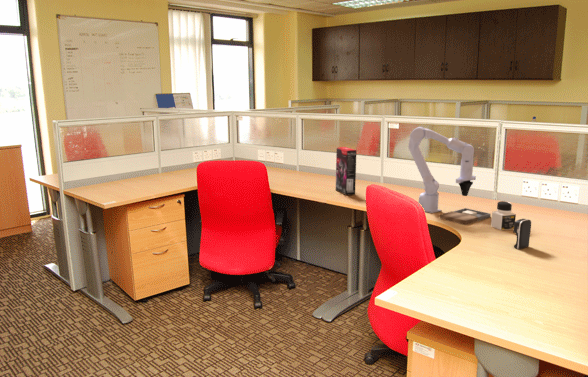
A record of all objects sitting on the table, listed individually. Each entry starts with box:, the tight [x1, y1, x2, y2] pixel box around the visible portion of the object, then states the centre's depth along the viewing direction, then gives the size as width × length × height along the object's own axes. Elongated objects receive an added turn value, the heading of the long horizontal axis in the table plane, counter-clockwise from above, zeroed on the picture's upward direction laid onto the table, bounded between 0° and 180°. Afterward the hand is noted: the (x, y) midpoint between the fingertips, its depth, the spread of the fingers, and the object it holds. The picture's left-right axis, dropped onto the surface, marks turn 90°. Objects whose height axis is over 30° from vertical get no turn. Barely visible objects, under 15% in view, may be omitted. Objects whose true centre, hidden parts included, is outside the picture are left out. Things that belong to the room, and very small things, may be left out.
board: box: [439, 210, 479, 226], centre depth 225 cm, size 14×10×2 cm
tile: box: [462, 210, 477, 217], centre depth 230 cm, size 5×5×2 cm
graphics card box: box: [335, 146, 357, 196], centre depth 284 cm, size 17×7×27 cm, turn 17°
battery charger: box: [512, 218, 532, 250], centre depth 185 cm, size 7×4×11 cm, turn 124°
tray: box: [453, 207, 492, 222], centre depth 232 cm, size 14×11×2 cm
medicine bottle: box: [490, 200, 516, 231], centre depth 211 cm, size 7×7×12 cm
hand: (464, 195), depth 234 cm, fingers closed
